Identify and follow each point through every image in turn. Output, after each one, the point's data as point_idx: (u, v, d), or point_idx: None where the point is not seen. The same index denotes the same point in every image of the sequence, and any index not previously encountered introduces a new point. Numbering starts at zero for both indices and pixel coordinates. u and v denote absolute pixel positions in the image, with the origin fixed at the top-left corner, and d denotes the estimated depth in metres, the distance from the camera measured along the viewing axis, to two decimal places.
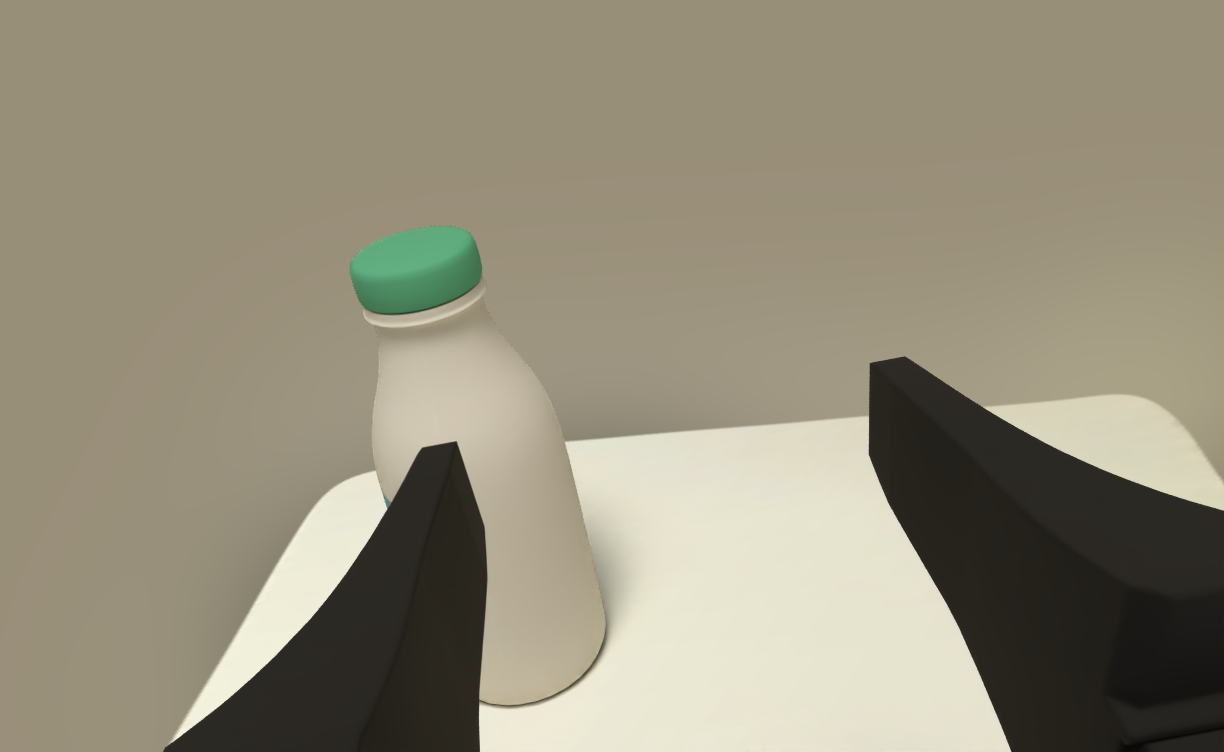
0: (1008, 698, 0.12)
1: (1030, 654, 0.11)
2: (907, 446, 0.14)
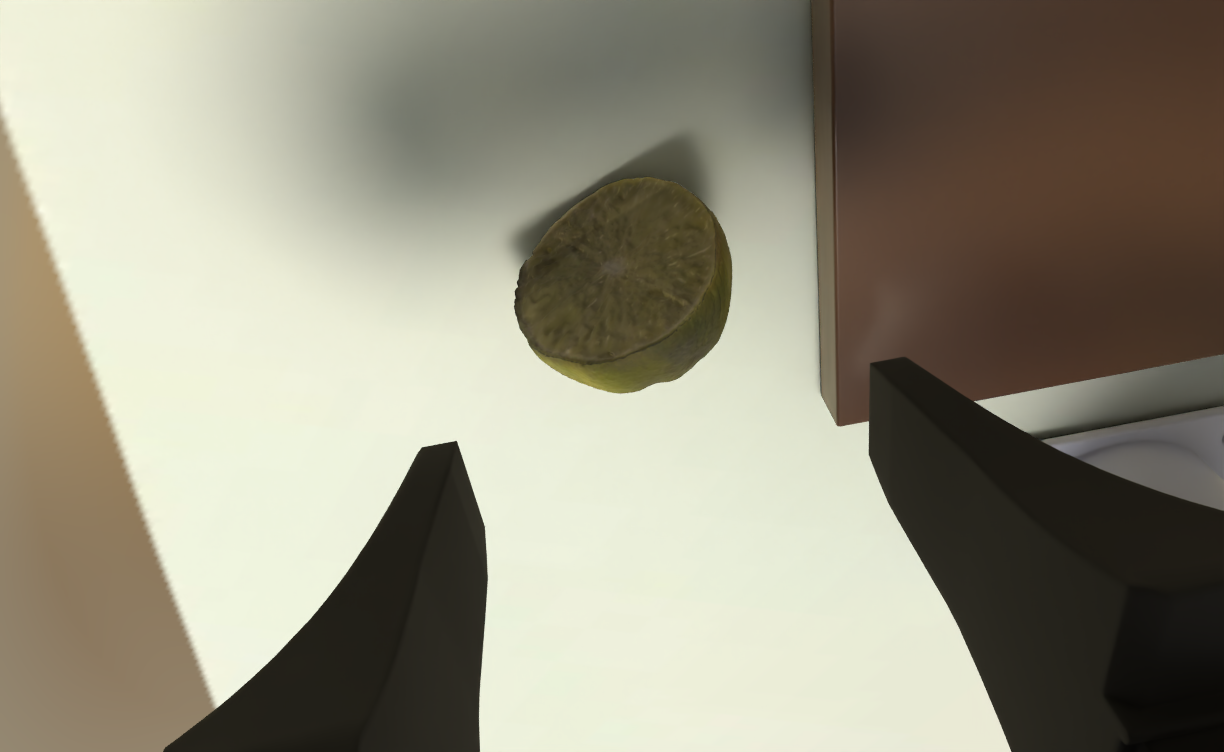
0: (1008, 698, 0.12)
1: (1030, 654, 0.11)
2: (907, 446, 0.14)
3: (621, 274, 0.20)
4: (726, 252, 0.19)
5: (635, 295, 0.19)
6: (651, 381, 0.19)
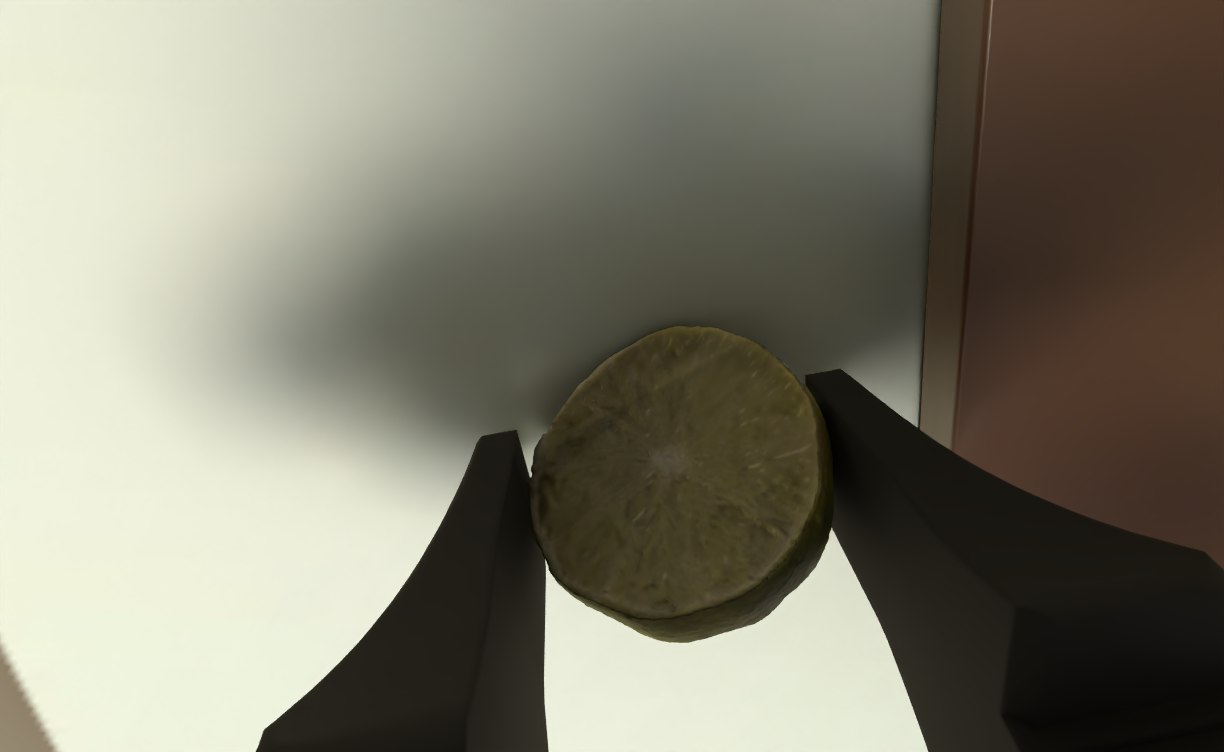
0: (928, 713, 0.12)
1: (943, 670, 0.11)
2: (838, 459, 0.14)
3: (679, 473, 0.14)
4: (829, 449, 0.14)
5: (701, 511, 0.14)
6: (723, 632, 0.14)
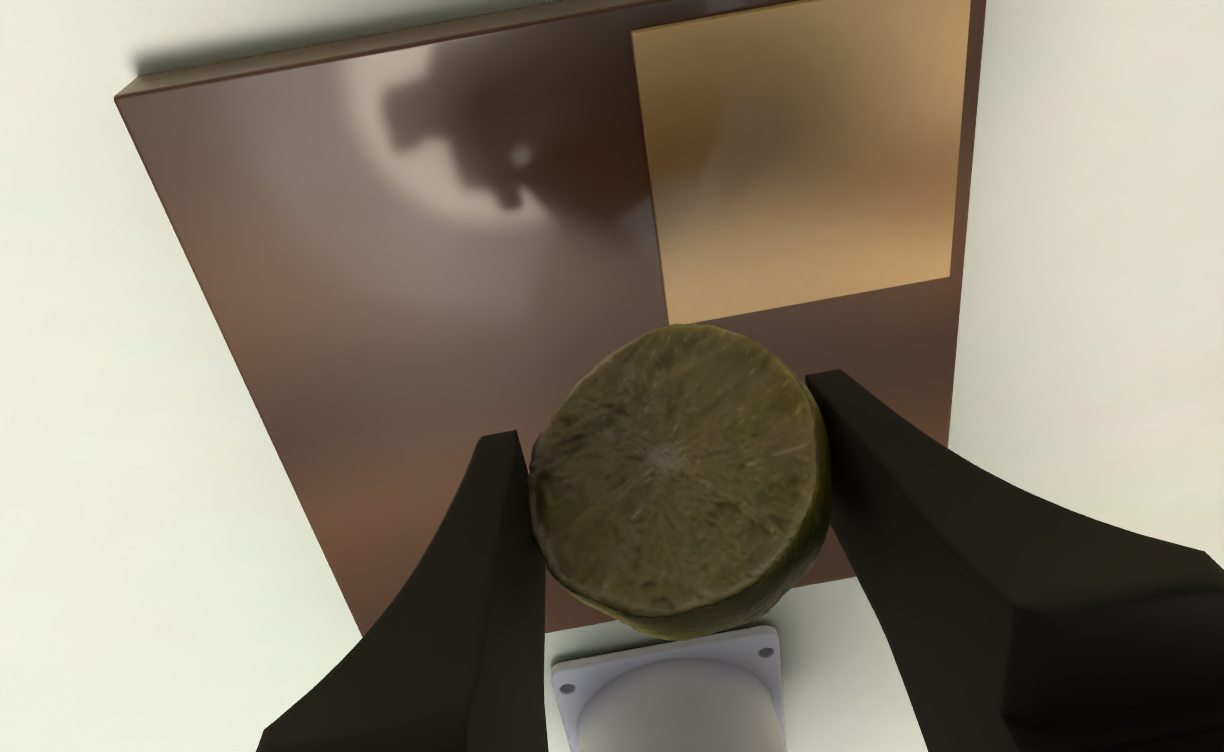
0: (928, 713, 0.12)
1: (943, 670, 0.11)
2: (838, 459, 0.14)
3: (677, 470, 0.14)
4: (828, 447, 0.14)
5: (700, 508, 0.14)
6: (721, 630, 0.14)
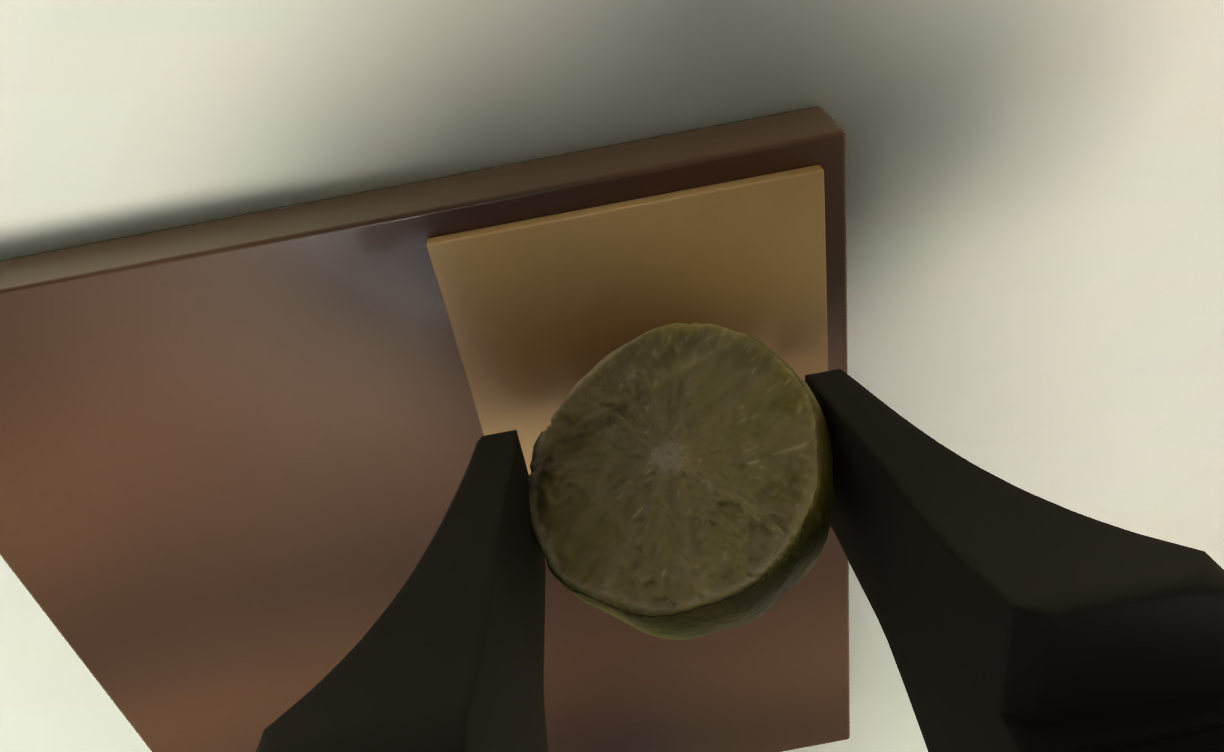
0: (928, 713, 0.12)
1: (943, 670, 0.11)
2: (838, 459, 0.14)
3: (679, 470, 0.14)
4: (829, 446, 0.14)
5: (700, 507, 0.14)
6: None
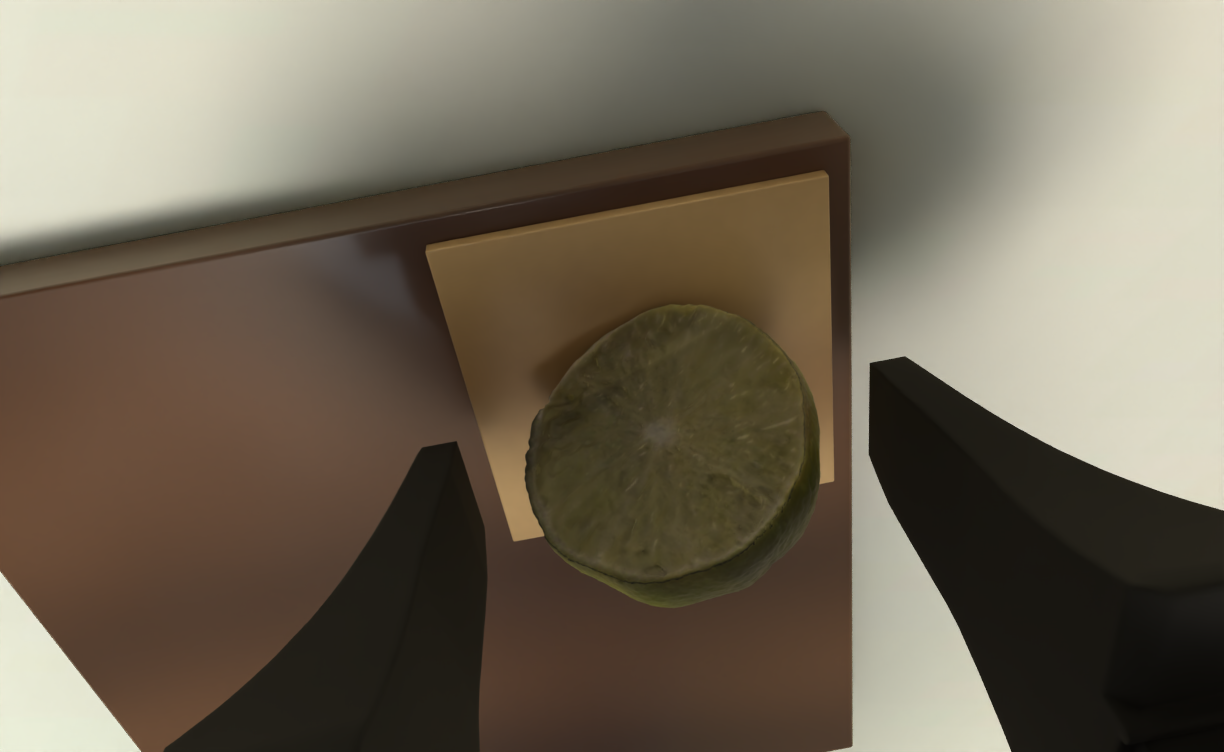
0: (1008, 698, 0.12)
1: (1030, 654, 0.11)
2: (907, 446, 0.14)
3: (671, 444, 0.15)
4: (816, 421, 0.14)
5: (692, 480, 0.14)
6: (712, 597, 0.14)
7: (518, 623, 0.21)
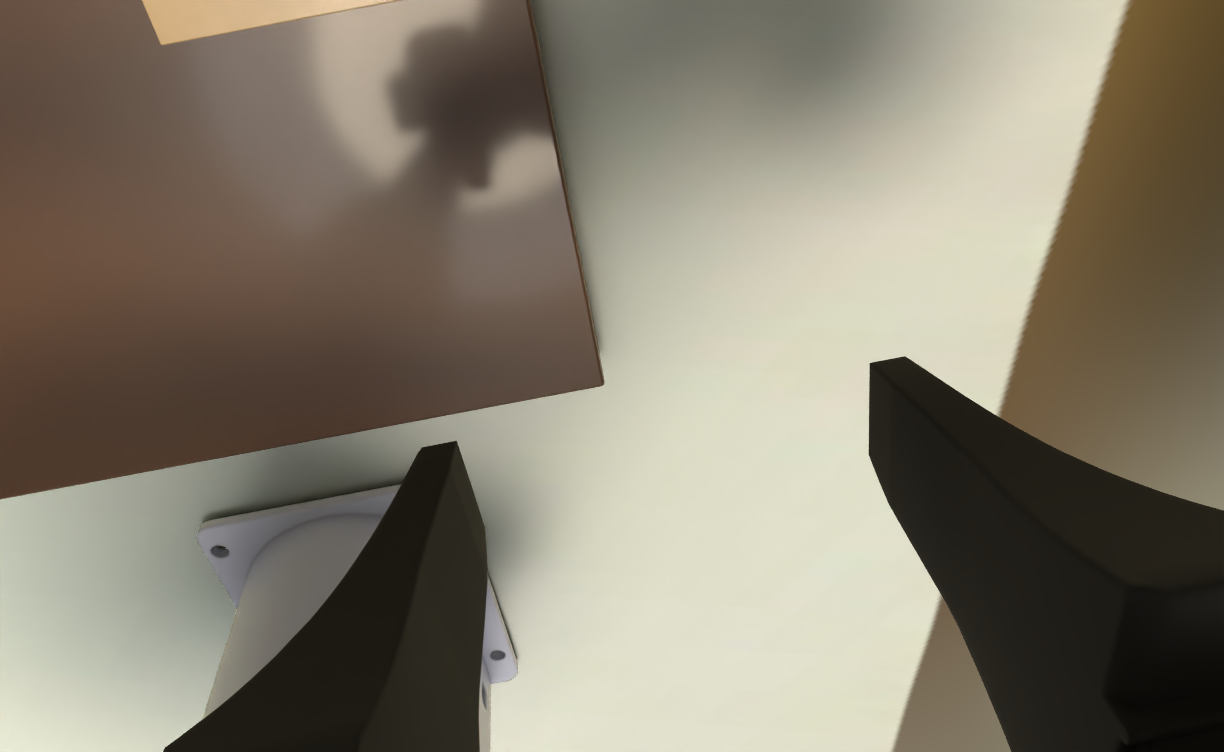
0: (1008, 698, 0.12)
1: (1030, 654, 0.11)
2: (907, 446, 0.14)
3: None
4: None
5: None
6: None
7: (199, 177, 0.20)
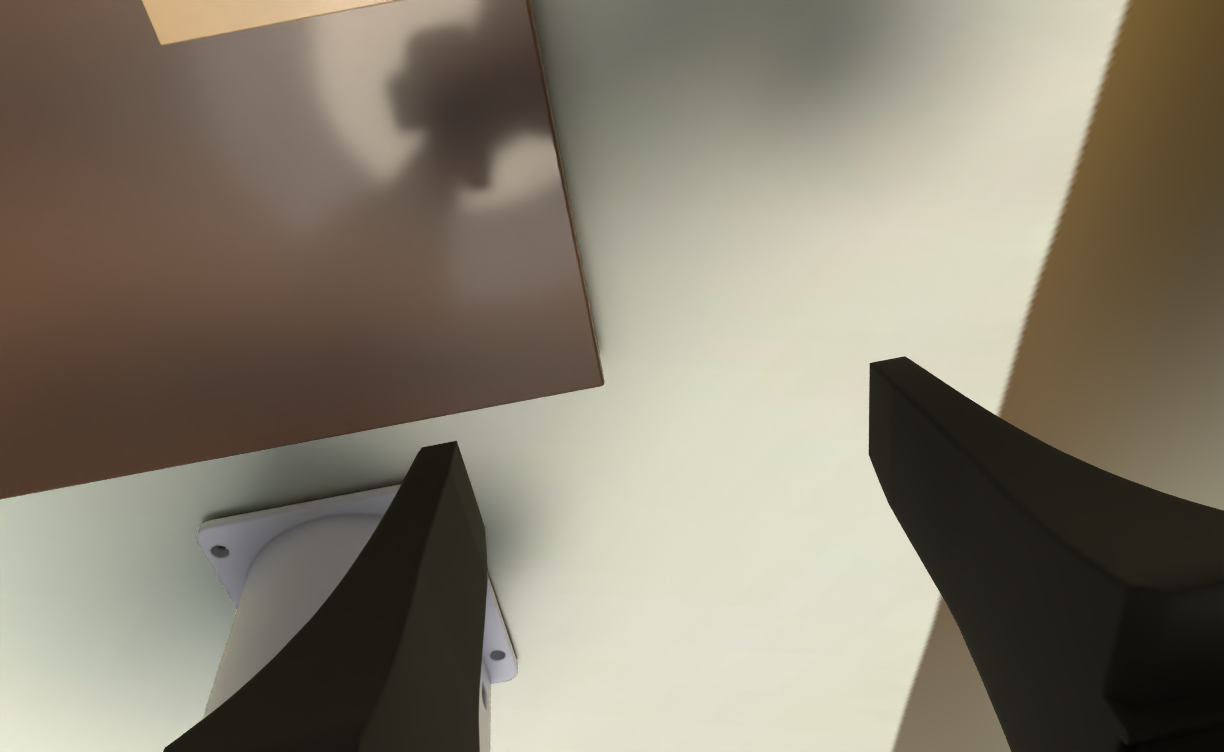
0: (1008, 698, 0.12)
1: (1030, 654, 0.11)
2: (907, 446, 0.14)
3: None
4: None
5: None
6: None
7: (198, 177, 0.20)
